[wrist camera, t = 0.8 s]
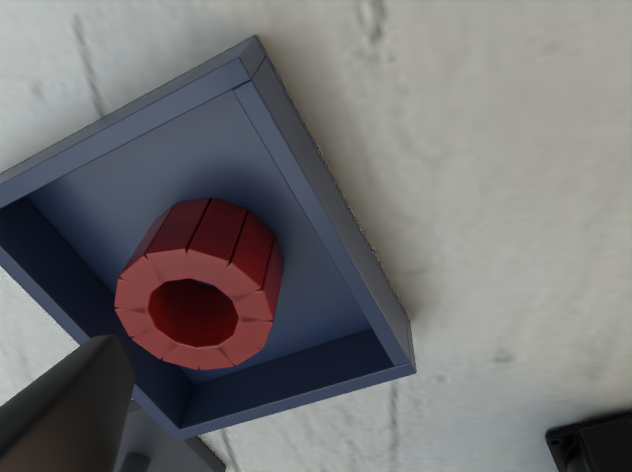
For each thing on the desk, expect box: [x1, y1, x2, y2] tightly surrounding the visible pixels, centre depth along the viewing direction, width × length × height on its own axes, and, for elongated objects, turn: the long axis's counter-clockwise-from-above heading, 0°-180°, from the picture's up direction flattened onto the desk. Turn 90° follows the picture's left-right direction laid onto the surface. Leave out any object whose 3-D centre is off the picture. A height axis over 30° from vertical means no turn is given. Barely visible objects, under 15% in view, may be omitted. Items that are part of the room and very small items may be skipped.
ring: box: [114, 198, 284, 370], centre depth 22 cm, size 6×7×4 cm
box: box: [0, 35, 417, 441], centre depth 23 cm, size 16×14×3 cm
